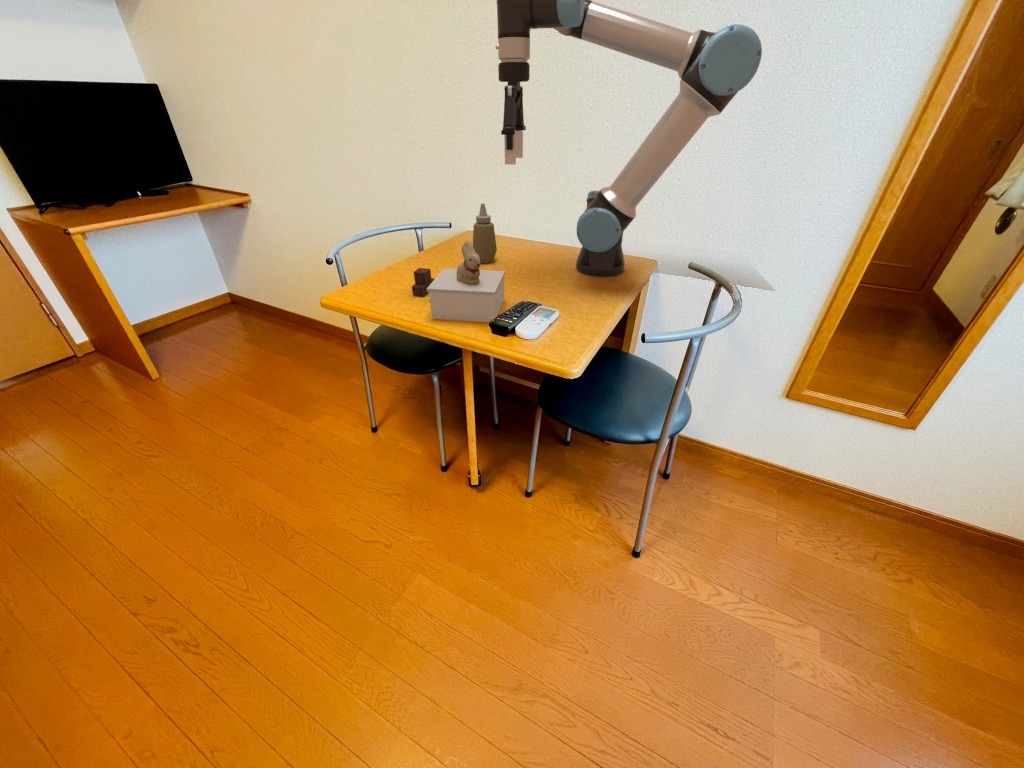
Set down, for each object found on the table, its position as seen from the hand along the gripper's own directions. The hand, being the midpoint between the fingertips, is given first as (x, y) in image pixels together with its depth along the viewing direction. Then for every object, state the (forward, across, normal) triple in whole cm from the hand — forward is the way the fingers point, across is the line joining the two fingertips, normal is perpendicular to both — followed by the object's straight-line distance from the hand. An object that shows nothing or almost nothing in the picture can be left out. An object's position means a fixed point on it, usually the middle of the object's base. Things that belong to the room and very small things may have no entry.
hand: (514, 161), depth 115 cm
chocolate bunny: (+24, +26, -8) cm, 36 cm away
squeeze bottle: (+32, -13, -12) cm, 37 cm away
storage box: (+32, +26, -8) cm, 42 cm away
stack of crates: (+32, +16, -22) cm, 42 cm away
